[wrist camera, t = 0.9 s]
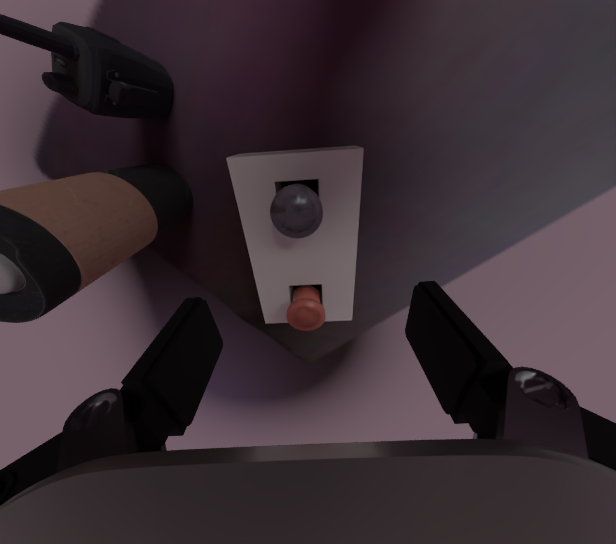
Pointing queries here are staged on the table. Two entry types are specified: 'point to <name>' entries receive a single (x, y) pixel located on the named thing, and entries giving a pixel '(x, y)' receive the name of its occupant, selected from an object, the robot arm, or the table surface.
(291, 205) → the metal button
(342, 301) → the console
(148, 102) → the two-way radio
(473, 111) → the table surface
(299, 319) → the red button
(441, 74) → the table surface
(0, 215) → the travel mug
